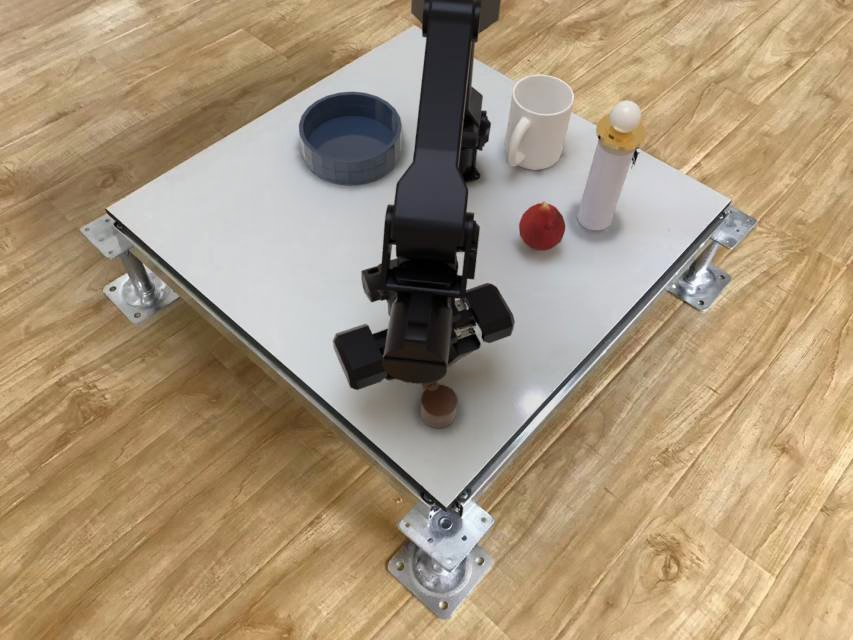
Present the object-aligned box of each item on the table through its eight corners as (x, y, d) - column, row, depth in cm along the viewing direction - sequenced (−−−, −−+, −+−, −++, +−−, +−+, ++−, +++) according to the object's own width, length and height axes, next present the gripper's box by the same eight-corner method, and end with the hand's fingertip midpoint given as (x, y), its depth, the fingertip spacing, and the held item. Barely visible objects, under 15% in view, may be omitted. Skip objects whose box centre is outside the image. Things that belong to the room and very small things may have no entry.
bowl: (380, 106, 116) (379, 82, 112) (416, 169, 108) (417, 145, 105) (289, 130, 112) (285, 105, 108) (321, 196, 105) (318, 172, 101)
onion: (564, 236, 102) (575, 194, 96) (554, 268, 99) (564, 227, 92) (522, 224, 103) (530, 182, 96) (510, 255, 100) (518, 214, 93)
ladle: (461, 421, 86) (463, 407, 84) (429, 433, 85) (429, 419, 83) (427, 352, 91) (427, 336, 89) (395, 362, 90) (395, 347, 88)
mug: (529, 196, 106) (540, 139, 98) (479, 170, 109) (485, 113, 100) (571, 147, 112) (585, 90, 103) (522, 124, 114) (532, 66, 106)
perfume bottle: (595, 244, 101) (632, 128, 85) (563, 219, 104) (593, 101, 87) (623, 223, 104) (665, 106, 87) (591, 199, 106) (626, 80, 89)
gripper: (477, 210, 81) (467, 296, 94) (309, 261, 77) (322, 344, 90) (525, 288, 76) (507, 368, 89) (347, 349, 71) (355, 424, 84)
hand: (422, 373), depth 88 cm, fingers open, 4 cm apart
